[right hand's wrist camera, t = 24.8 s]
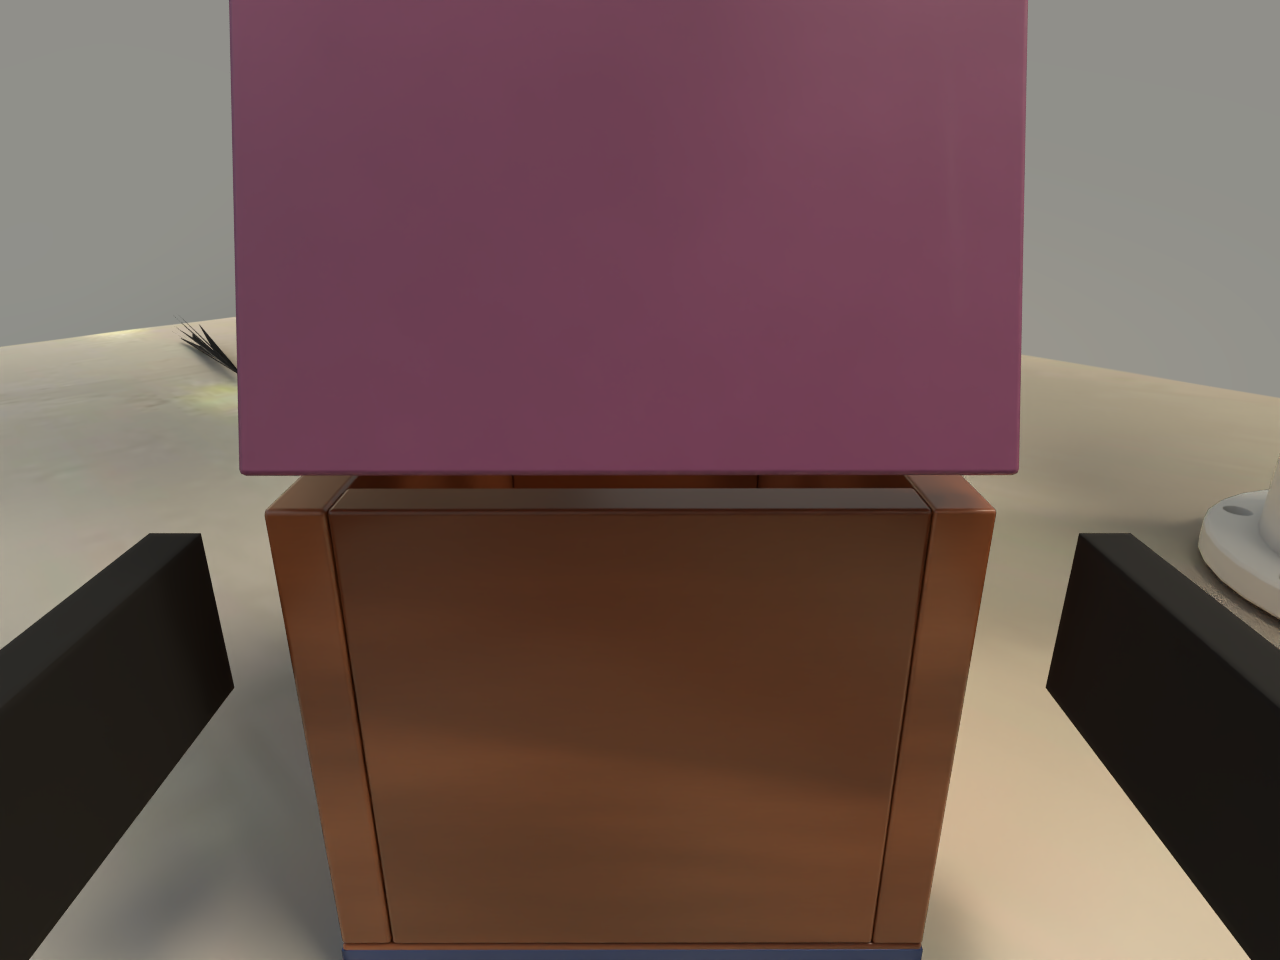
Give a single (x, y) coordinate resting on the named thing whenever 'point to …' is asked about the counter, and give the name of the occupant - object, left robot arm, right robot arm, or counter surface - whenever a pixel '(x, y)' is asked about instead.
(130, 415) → the counter surface
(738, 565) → the chest
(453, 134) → the lid
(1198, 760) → the right robot arm
